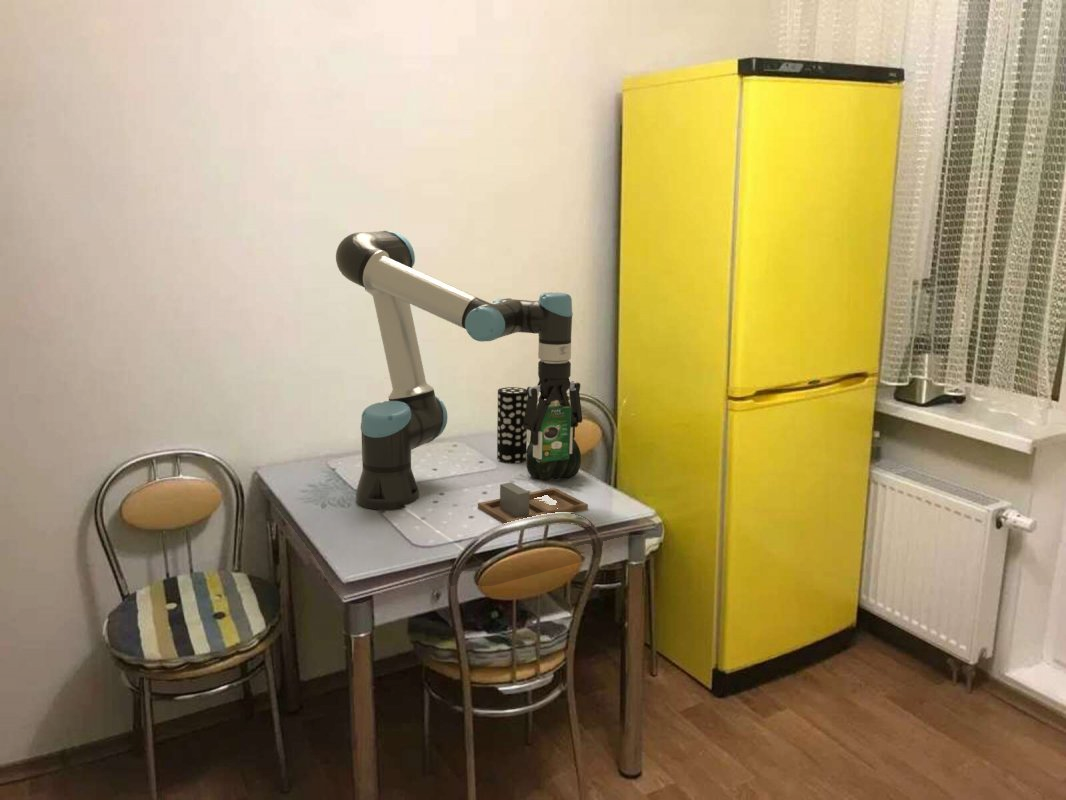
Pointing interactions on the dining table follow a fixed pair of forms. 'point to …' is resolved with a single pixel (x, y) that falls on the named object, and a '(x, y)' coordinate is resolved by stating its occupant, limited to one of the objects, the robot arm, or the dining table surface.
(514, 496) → the block
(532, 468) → the squash
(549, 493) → the tray
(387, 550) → the dining table surface
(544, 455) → the coffee box
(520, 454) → the white-spotted black cylinder
